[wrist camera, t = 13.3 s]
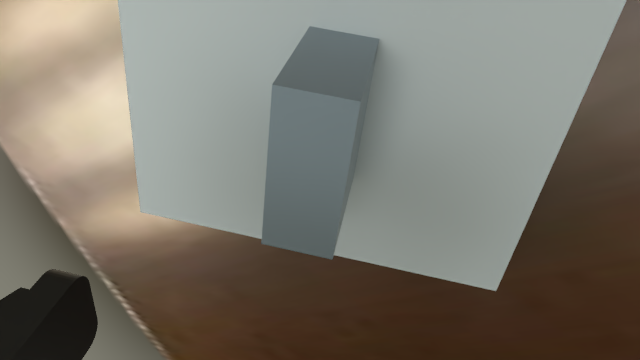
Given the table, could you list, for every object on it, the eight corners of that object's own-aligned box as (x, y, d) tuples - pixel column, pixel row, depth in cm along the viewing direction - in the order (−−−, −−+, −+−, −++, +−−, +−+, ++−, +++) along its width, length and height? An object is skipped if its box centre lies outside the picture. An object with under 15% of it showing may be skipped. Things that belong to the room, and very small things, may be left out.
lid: (632, -80, 17) (731, -23, 11) (492, 255, 26) (506, 387, 20) (137, -157, 19) (-8, -143, 13) (162, 183, 28) (82, 286, 22)
